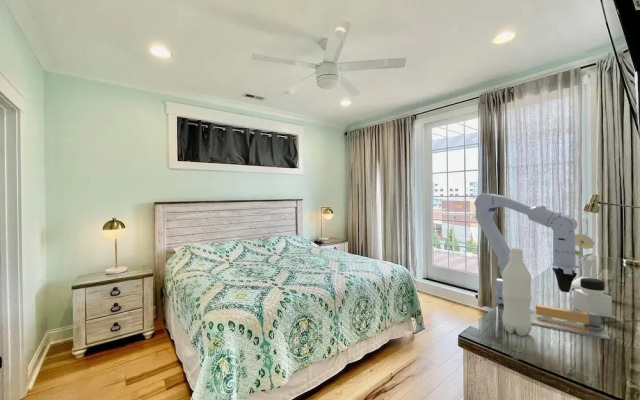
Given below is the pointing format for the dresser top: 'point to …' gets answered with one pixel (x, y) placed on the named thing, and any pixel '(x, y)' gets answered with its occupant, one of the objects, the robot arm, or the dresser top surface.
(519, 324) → the water bottle
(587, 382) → the dresser top surface
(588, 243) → the flower in vase
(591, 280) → the medicine bottle
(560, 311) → the tan piece
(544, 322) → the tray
